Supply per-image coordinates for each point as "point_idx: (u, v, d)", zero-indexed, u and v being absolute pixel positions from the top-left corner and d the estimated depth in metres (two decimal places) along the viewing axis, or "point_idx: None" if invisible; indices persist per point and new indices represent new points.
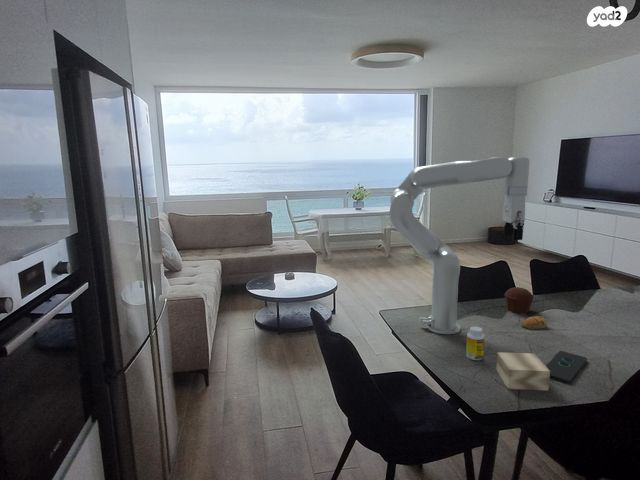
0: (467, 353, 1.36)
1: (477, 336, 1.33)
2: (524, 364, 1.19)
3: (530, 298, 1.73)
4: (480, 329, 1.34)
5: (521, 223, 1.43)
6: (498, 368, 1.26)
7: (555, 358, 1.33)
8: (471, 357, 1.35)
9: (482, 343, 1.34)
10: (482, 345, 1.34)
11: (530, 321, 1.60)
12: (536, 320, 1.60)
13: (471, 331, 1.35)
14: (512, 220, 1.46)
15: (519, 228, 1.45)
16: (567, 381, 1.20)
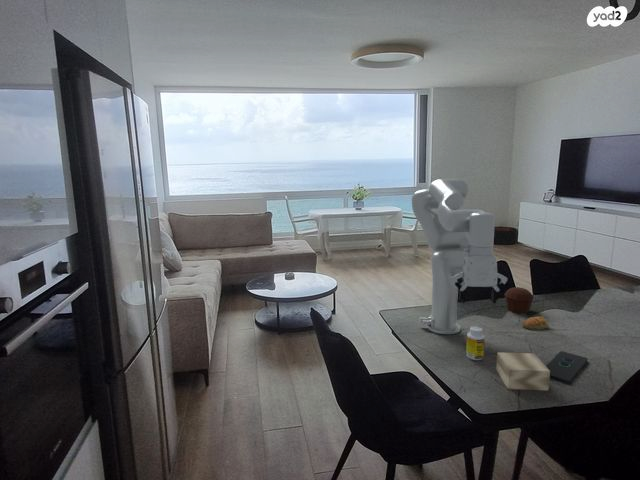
0: (467, 353, 1.36)
1: (477, 336, 1.33)
2: (524, 364, 1.19)
3: (530, 298, 1.73)
4: (480, 329, 1.34)
5: None
6: (498, 368, 1.26)
7: (555, 358, 1.33)
8: (471, 357, 1.35)
9: (482, 343, 1.34)
10: (482, 345, 1.34)
11: (531, 322, 1.59)
12: (537, 320, 1.59)
13: (471, 331, 1.35)
14: (496, 283, 1.29)
15: None
16: (566, 381, 1.19)
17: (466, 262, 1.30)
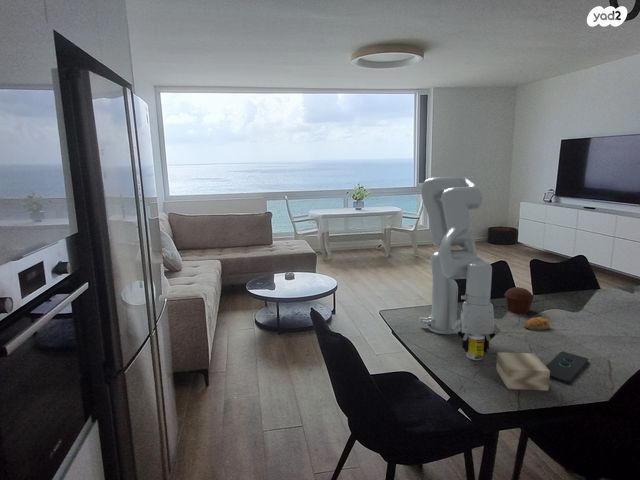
0: (467, 353, 1.36)
1: (477, 336, 1.33)
2: (524, 364, 1.19)
3: (530, 298, 1.73)
4: None
5: None
6: (498, 368, 1.26)
7: (556, 358, 1.32)
8: (471, 357, 1.35)
9: (482, 343, 1.34)
10: (482, 345, 1.34)
11: (533, 322, 1.59)
12: (539, 321, 1.59)
13: None
14: (493, 330, 1.32)
15: None
16: (566, 382, 1.19)
17: (464, 310, 1.33)
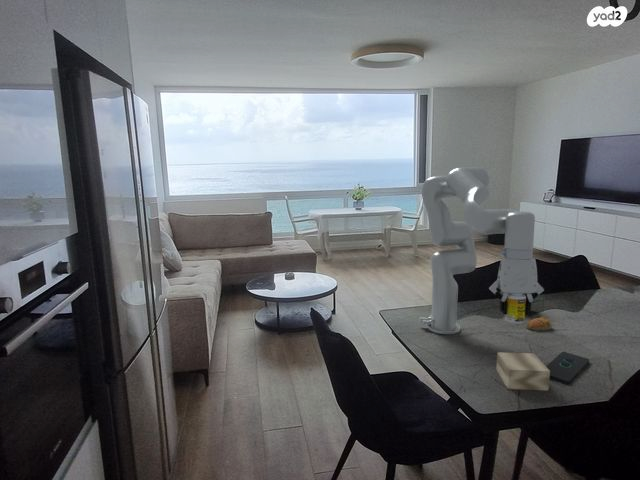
0: (506, 316, 1.21)
1: (518, 296, 1.19)
2: (524, 364, 1.19)
3: None
4: None
5: None
6: (498, 368, 1.26)
7: (556, 359, 1.32)
8: (511, 320, 1.20)
9: (523, 304, 1.19)
10: (523, 306, 1.19)
11: (536, 323, 1.58)
12: (541, 322, 1.58)
13: None
14: (536, 289, 1.18)
15: None
16: (565, 382, 1.19)
17: (502, 266, 1.18)
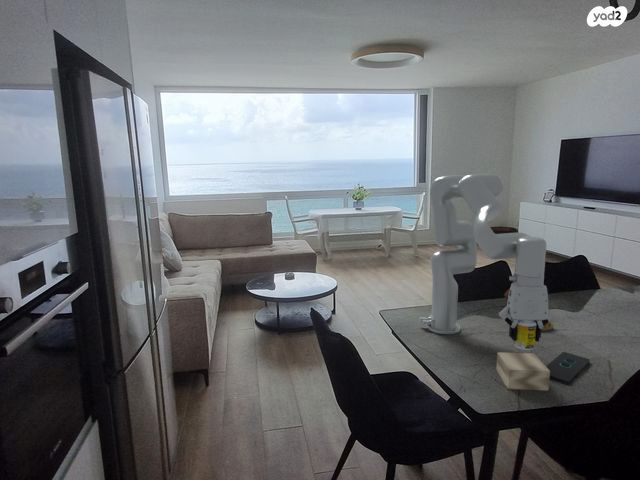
0: (516, 342, 1.19)
1: (528, 322, 1.17)
2: (524, 364, 1.19)
3: None
4: None
5: None
6: (498, 368, 1.26)
7: (557, 359, 1.32)
8: (521, 347, 1.18)
9: (534, 330, 1.17)
10: (534, 332, 1.17)
11: None
12: None
13: None
14: None
15: None
16: (565, 382, 1.19)
17: (513, 293, 1.16)
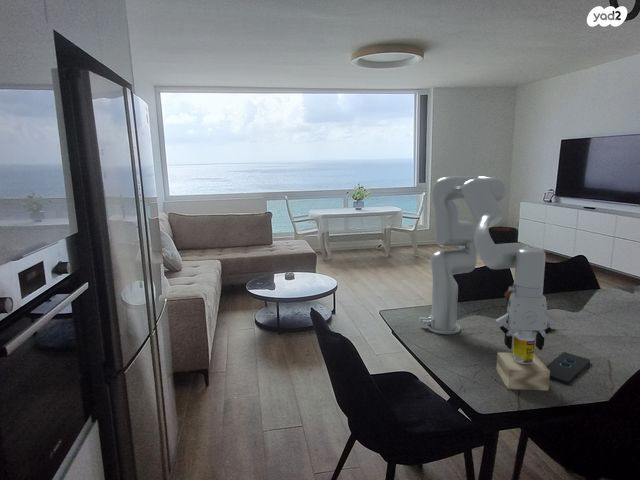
0: (514, 356, 1.20)
1: (527, 337, 1.18)
2: (524, 364, 1.19)
3: None
4: None
5: None
6: (498, 368, 1.26)
7: (557, 359, 1.32)
8: (519, 361, 1.19)
9: (532, 345, 1.18)
10: (532, 347, 1.18)
11: None
12: None
13: (520, 331, 1.19)
14: None
15: None
16: (565, 382, 1.19)
17: (512, 303, 1.17)
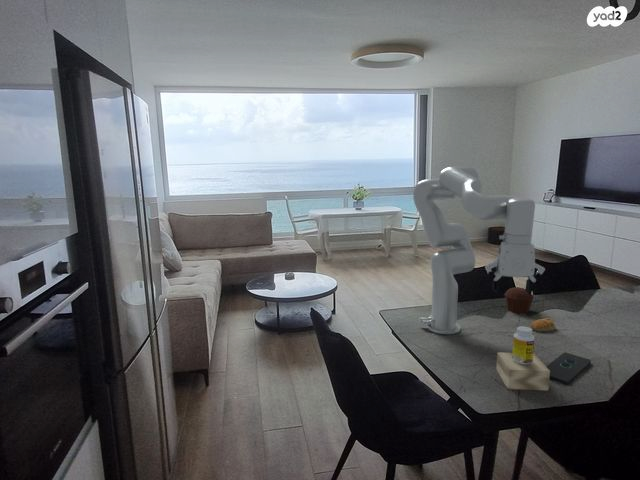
0: (514, 356, 1.20)
1: (526, 337, 1.18)
2: None
3: (530, 298, 1.73)
4: (529, 329, 1.19)
5: None
6: (498, 368, 1.26)
7: (557, 359, 1.32)
8: (519, 361, 1.19)
9: (532, 345, 1.18)
10: (532, 347, 1.18)
11: (540, 324, 1.57)
12: (545, 322, 1.57)
13: (519, 332, 1.19)
14: (533, 273, 1.23)
15: None
16: (564, 382, 1.19)
17: (502, 251, 1.23)
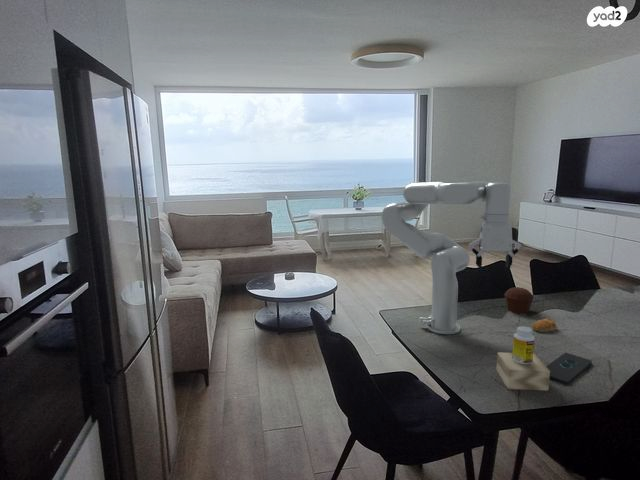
0: (514, 356, 1.20)
1: (526, 337, 1.18)
2: None
3: (530, 298, 1.73)
4: (529, 329, 1.19)
5: None
6: (498, 368, 1.26)
7: (558, 359, 1.32)
8: (519, 361, 1.19)
9: (532, 345, 1.18)
10: (532, 347, 1.18)
11: (542, 324, 1.56)
12: (547, 323, 1.57)
13: (519, 332, 1.19)
14: (511, 248, 1.39)
15: None
16: (564, 382, 1.19)
17: (483, 229, 1.39)
